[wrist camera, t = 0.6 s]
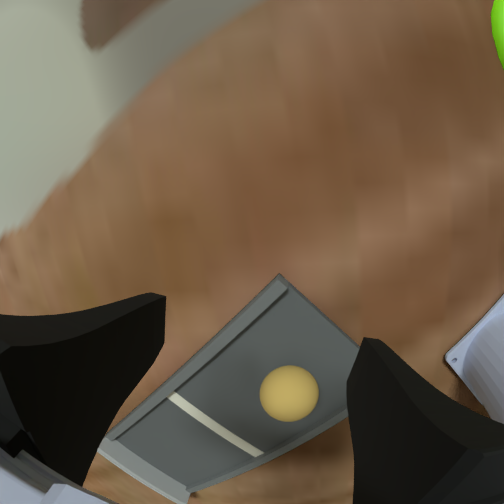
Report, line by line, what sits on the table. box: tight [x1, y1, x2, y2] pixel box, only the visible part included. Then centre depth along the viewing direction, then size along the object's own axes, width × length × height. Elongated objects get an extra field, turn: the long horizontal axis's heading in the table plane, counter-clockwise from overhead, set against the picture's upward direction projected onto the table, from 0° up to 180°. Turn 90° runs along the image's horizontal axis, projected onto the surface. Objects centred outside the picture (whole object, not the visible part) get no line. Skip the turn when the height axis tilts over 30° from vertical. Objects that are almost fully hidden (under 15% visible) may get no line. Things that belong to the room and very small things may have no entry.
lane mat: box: [97, 273, 360, 504], centre depth 23 cm, size 12×28×3 cm, turn 138°
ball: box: [260, 365, 319, 422], centre depth 19 cm, size 4×4×4 cm
